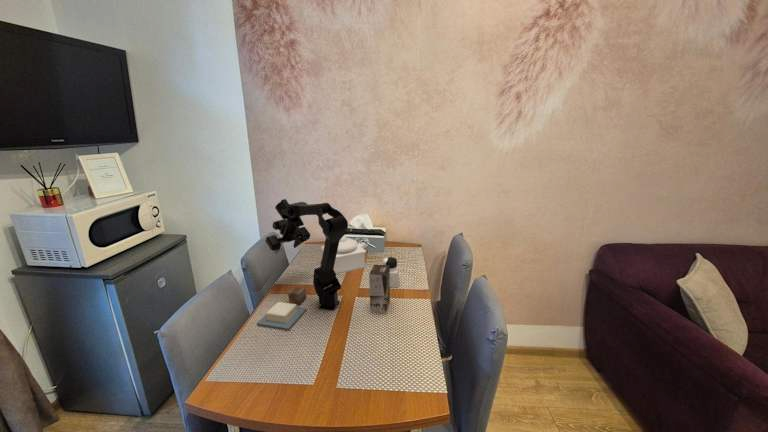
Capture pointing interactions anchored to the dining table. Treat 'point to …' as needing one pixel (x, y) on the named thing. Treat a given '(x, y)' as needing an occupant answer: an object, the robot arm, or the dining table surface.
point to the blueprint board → (282, 325)
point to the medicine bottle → (392, 270)
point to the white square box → (348, 256)
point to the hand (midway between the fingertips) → (285, 250)
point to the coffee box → (379, 288)
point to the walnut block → (297, 295)
